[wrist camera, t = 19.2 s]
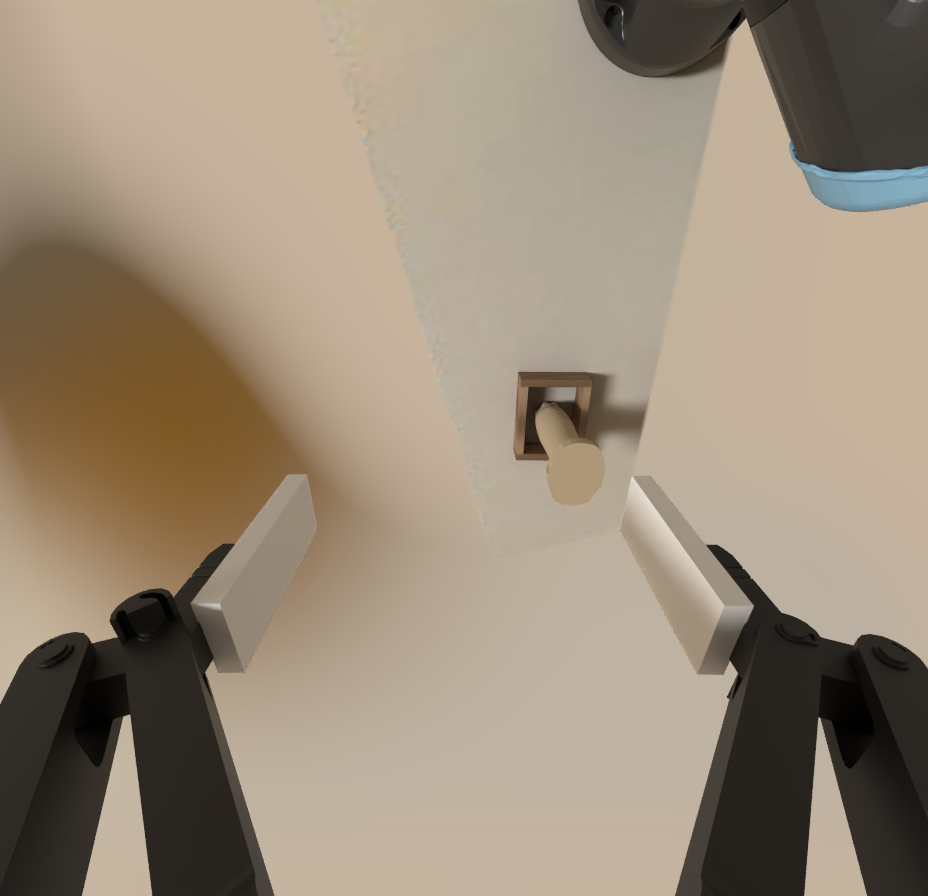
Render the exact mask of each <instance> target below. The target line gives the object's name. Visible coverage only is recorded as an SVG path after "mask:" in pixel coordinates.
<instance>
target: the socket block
mask: <svg viewBox="0 0 928 896" xmlns="http://www.w3.org/2000/svg"><path fill="white" fill-rule="evenodd" d="M592 382H593V380H592V379H591V378H590V377H589V375H588V374H587V373H586V372H519V373H518V388H517V403H516V419H515V434H514V453H515V457H516V460H549V457H548V455H547V453H546V451H545V449H544V447H543V445H542V443H524V438H525V425H526V412H527V399H528V387H577V390H576V397H575V405H574V412H573V420H572V423H573V425H574V428H575V430H576V433H577V435H578V437H579V438H584V436H585V429H586V423H587V416H588V409H589V403H590V396H591V389H592Z"/></svg>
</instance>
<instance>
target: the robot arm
mask: <svg viewBox="0 0 928 896" xmlns="http://www.w3.org/2000/svg"><path fill="white" fill-rule="evenodd" d="M578 2H579V6H580V10H581V14H582V17H583V20H584V23H585V25H586V28H587V30H588V32H589V34H590V36H591V38H592V40H593V41H594V43H595V44H596V46H597V47H598V48H599V50H600V51H601V52H602V53H603V54H604V55H605V57H607V58H608V59H609V60H610V61H611V62H612V63H614V64H615V65H616V66H618V67H619V68H621V69H623V70H625V71H627V72H630V73H633V74H636V75H641V76H650V77H654V76H664V75H669V74H673V73H676V72H679V71H681V70H684V69H686V68H688V67H690V66H692V65H693V64H695V63H697V62H698V61H700V60H701V59H703V58H704V57H705V56H707V55H708V54H709V53H711V52H712V51H713V50H714V49H716V48H717V47H718V46H719V45H721V44H722V43H723V42H724V41H725V40H726V39H727V38H729V37H730V36H731V35H732V33H733V32H734V31H735V30H736V29H737V28H738V27H739V26H740V25H741V23H742V22H743V21H744V20H745V19H746V18H747V21H748V24H749V27H750V30H751V32H752V35H753V38H754V41H755V43H756V46H757V49H758V52H759V54H760V57H761V60H762V63H763V65H764V68H765V71H766V74H767V76H768V79H769V82H770V84H771V87H772V90H773V93H774V95H775V98H776V101H777V103H778V106H779V109H780V112H781V115H782V117H783V120H784V122H785V126H786V128H787V131H788V134H789V136H790V139H791V142H790V146H789V148H790V154H791V157H792V159H793V161H794V162H796V164H797V165H798V167H800V168H801V169H802V171H803V174H804V176H805V178H806V181H807V183H808V185H809V187H810V190H811V192H812V193H813V195H814V196H815V197H816V198H817V199H818V200H820V201H821V202H822V203H823V204H824V205H827V206H829V207H831V208H834V209H838V210H843V211H853V212H867V211H879V210H888V209H894V208H900V207H905V206H910V205H915V204H919V203H923V202H928V0H578ZM316 531H317V524H316V520H315V514H314V509H313V504H312V498H311V493H310V488H309V483H308V478H307V475H304V474H303V475H301V474H300V475H298V474H297V475H296V474H295V475H294V474H293V475H291V474H288V475H287V476H286V478H285V479H284V480H283V482H282V483H281V484H280V486H279V487H278V488H277V490H276V491H275V492H274V494H273V495H272V496H271V498H270V499H269V500H268V502H267V503H266V504H265V505H264V507H263V508H262V509H261V511H260V512H259V513H258V515H257V516H256V517H255V519H254V520H253V522H252V523H251V524H250V525H249V527H248V528H247V529H246V531H245V532H244V533H243V535H242V536H241V537H240V539H239V540H238V542H237V543H236V544H222V545H221V546H220V547H218V548H217V549H215V550H214V551H213V552H211V553H210V554H209V555H208V556H207V557H206V558H205V560H204V561H203V562H202V563H201V564H200V567H199V568H197V569H196V571H195V572H194V573H193V574H192V577H191V578H189V579H188V580H187V582H186V583H185V584H184V585H183V587H182V588H181V589H180V590H179V591H178V593H177V594H176V595H175V596H174V598H173V596H172V594H171V593H170V592H169V591H168V590H165V589H161V588H160V589H150V590H147V591H143V592H140V593H138V594H136V595H134V596H132V597H130V598H128V599H126V600H125V601H124V602H122V603H121V604H120V605H119V606H118V607H117V608H116V609H115V610H114V612H113V613H112V614H111V618H110V623H111V625H112V627H113V629H114V630H115V632H116V634H117V636H118V637H117V638H112V639H109V640H105V641H100V642H96V643H91V641H90V639H89V638H88V637H87V636H86V635H85V634H84V633H78V632H73V633H67V634H63V635H60V636H58V637H55V638H53V639H50V640H49V641H47V642H45V643H43V644H42V645H40V646H38V647H37V648H36V649H34V650H33V651H32V652H31V653H30V654H28V655H27V656H26V658H25V659H24V660H23V662H22V663H21V664H20V666H19V668H18V670H17V672H16V674H15V676H14V678H13V680H12V682H11V684H10V686H9V688H8V690H7V692H6V694H5V696H4V698H3V700H2V702H1V704H0V896H82V892H83V888H84V884H85V880H86V875H87V870H88V867H89V862H90V858H91V854H92V849H93V845H94V840H95V836H96V832H97V827H98V823H99V819H100V815H101V810H102V806H103V802H104V797H105V793H106V789H107V784H108V780H109V776H110V771H111V767H112V763H113V758H114V754H115V750H116V746H117V741H118V737H119V733H120V728H121V724H122V719H123V716H126V715H129V714H130V715H131V724H132V732H133V740H134V748H135V757H136V765H137V772H138V781H139V789H140V797H141V805H142V814H143V822H144V830H145V838H146V847H147V855H148V863H149V871H150V880H151V888H152V896H274V893H273V890H272V887H271V883H270V880H269V877H268V874H267V870H266V867H265V864H264V861H263V858H262V854H261V851H260V848H259V844H258V841H257V838H256V834H255V831H254V828H253V824H252V821H251V818H250V815H249V812H248V808H247V805H246V802H245V799H244V795H243V792H242V789H241V785H240V782H239V779H238V776H237V772H236V769H235V766H234V763H233V759H232V756H231V753H230V750H229V746H228V743H227V740H226V737H225V733H224V730H223V727H222V724H221V720H220V717H219V714H218V711H217V708H216V704H215V701H214V698H213V694H212V691H211V688H210V685H209V681H208V678H207V676H206V674H205V672H206V670H207V668H208V667H209V665H210V663H211V662H212V660H213V661H214V663H215V665H216V668H217V670H218V672H219V673H223V672H224V673H227V672H228V673H232V672H233V673H245V671H246V669H247V667H248V665H249V663H250V661H251V659H252V657H253V655H254V653H255V651H256V649H257V647H258V645H259V643H260V641H261V640H262V637H263V635H264V634H265V632H266V630H267V628H268V626H269V624H270V622H271V620H272V618H273V616H274V614H275V612H276V610H277V608H278V606H279V604H280V602H281V600H282V598H283V596H284V594H285V592H286V590H287V588H288V586H289V585H290V583H291V580H292V579H293V577H294V574H295V573H296V571H297V569H298V567H299V565H300V563H301V561H302V559H303V557H304V555H305V553H306V551H307V549H308V547H309V545H310V543H311V541H312V539H313V537H314V535H315V533H316ZM620 531H621V533H622V535H623V537H624V539H625V540H626V542H627V544H628V546H629V548H630V550H631V552H632V554H633V556H634V557H635V559H636V561H637V563H638V565H639V567H640V568H641V570H642V572H643V574H644V576H645V578H646V580H647V582H648V583H649V585H650V587H651V589H652V591H653V593H654V595H655V597H656V598H657V600H658V602H659V604H660V606H661V608H662V610H663V611H664V613H665V615H666V617H667V619H668V621H669V623H670V625H671V626H672V628H673V630H674V632H675V634H676V636H677V637H678V639H679V641H680V643H681V645H682V647H683V649H684V651H685V653H686V654H687V656H688V658H689V660H690V662H691V664H692V665H693V667H694V669H695V671H696V673H697V674H715V675H717V674H718V675H723V674H724V672H725V670H726V668H727V666H728V663H729V661H731V663H732V664H733V666H734V667H735V669H736V671H737V672H738V675H737V677H736V679H735V681H734V683H733V685H732V687H731V690H730V692H729V694H728V696H727V698H729V703H728V707H727V710H726V714H725V717H724V721H723V724H722V728H721V732H720V735H719V739H718V743H717V746H716V750H715V753H714V757H713V761H712V764H711V768H710V772H709V775H708V779H707V782H706V786H705V789H704V793H703V797H702V800H701V804H700V808H699V811H698V815H697V818H696V822H695V826H694V829H693V833H692V837H691V840H690V844H689V847H688V851H687V855H686V858H685V862H684V866H683V869H682V873H681V876H680V880H679V883H678V887H677V891H676V894H675V896H804V890H805V878H806V865H807V852H808V840H809V827H810V814H811V802H812V789H813V777H814V765H815V751H816V739H817V726H818V717H820V718H821V722H822V726H823V729H824V733H825V737H826V741H827V745H828V748H829V752H830V756H831V760H832V763H833V767H834V771H835V775H836V779H837V782H838V786H839V790H840V794H841V798H842V802H843V806H844V809H845V813H846V817H847V821H848V824H849V828H850V832H851V836H852V840H853V844H854V847H855V851H856V855H857V859H858V863H859V866H860V870H861V874H862V878H863V881H864V885H865V889H866V893H867V896H928V668H927V667H926V666H925V664H924V663H923V662H922V661H921V659H920V658H919V657H917V656H916V655H915V654H914V653H913V652H911V651H910V650H909V649H907V648H906V647H904V646H902V645H900V644H898V643H897V642H895V641H893V640H890V639H888V638H885V637H883V636H878V635H872V634H867V635H861V636H860V637H859V638H858V639H857V641H856V642H855V644H854V645H849V644H845V643H841V642H837V641H833V640H829V639H825V638H822V637H820V636H819V634H818V633H817V632H816V631H815V630H814V629H813V628H812V627H810V626H809V625H808V624H807V623H805V622H803V621H801V620H800V619H798V618H796V617H793V616H790V615H787V614H784V613H781V612H780V611H779V610H778V608H777V607H776V606H775V605H774V604H773V602H772V601H771V600H770V599H769V598H768V597H767V595H766V594H765V593H764V592H763V591H762V589H761V588H760V587H759V586H758V585H757V584H756V582H755V581H754V580H753V579H751V578H750V575H749V574H748V573H747V572H746V571H745V570H744V569H742V566H741V565H740V564H739V562H738V561H737V560H736V559H735V558H734V557H733V555H731V554H730V553H728V552H727V551H725V550H724V549H723V548H721V547H720V546H718V545H705V543H704V542H703V541H702V540H701V538H700V537H699V536H698V535H697V534H696V532H695V531H694V530H693V528H692V527H691V526H690V525H689V523H688V522H687V521H686V519H685V518H684V517H683V516H682V514H681V513H680V512H679V511H678V509H677V508H676V507H675V506H674V504H673V503H672V502H671V501H670V500H669V498H668V497H667V496H666V494H665V493H664V492H663V490H662V489H661V488H660V487H659V485H658V484H657V483H656V482H655V480H654V479H653V478H652V477H651V476H632V479H631V483H630V488H629V493H628V497H627V502H626V507H625V511H624V516H623V520H622V525H621V530H620Z"/></svg>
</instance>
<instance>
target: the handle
mask: <svg viewBox="0 0 928 896" xmlns="http://www.w3.org/2000/svg"><path fill="white" fill-rule="evenodd" d="M534 417H535V423H536V429H537V433H538V436H539V439H540V441H541V443H542V445H543V447H544V449H545V451H546V453H547V455H548V457H549V461H548V464H547V474H546V478H547V482H548V485H549V488H550V491H551V494H552V496H553V499H554V500H555V501H557V502H559V503H561V504H564V505H580V504H584V503H586V502H588V501H589V500H590V499H591V498H592V497H593V496H594V495H595V493H596V492H597V491H598V489H599V488H600V486H601V483H602V480H603V476H604V472H605V462H604V458H603V455H602V452H601V449H600V448H599V446H598V445H597V444H596V443H595V442H593V441H591V440H589V439H585V438H579V437H578V435H577V433H576V430H575V428H574V425H573V423H572V422H571V420H570V418H569V417H568V416H567V414H566V413H565V412H564V411H563V410H562V409H561V408H559V405H558V404H556V403H555V402H553V403H547V402H543V403H541V406H540V407H539V408H538V409H537V410H535V413H534Z"/></svg>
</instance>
